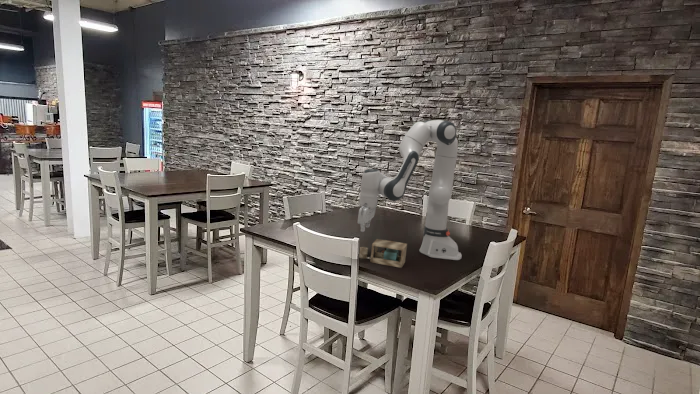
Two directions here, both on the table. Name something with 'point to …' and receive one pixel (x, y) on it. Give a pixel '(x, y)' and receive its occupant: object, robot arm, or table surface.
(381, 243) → the cubby shelf
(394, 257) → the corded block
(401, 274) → the table surface
